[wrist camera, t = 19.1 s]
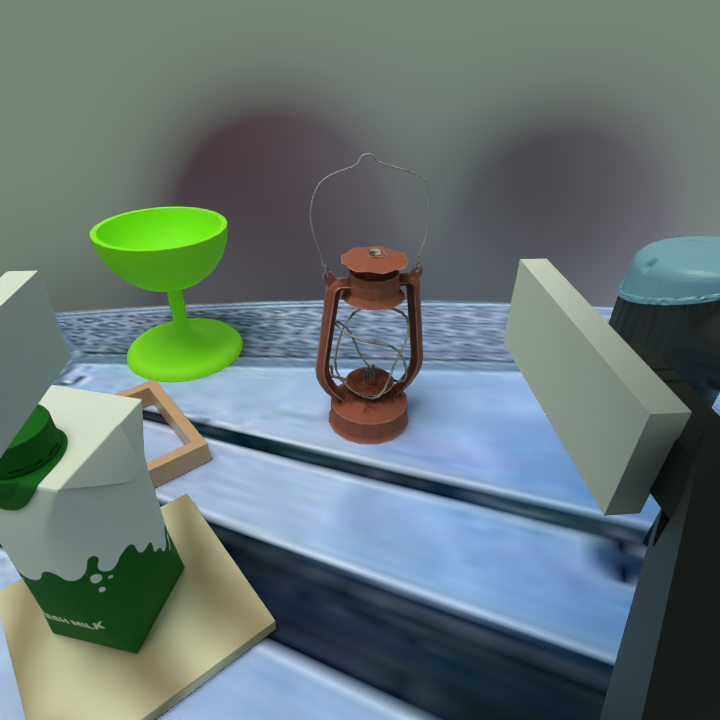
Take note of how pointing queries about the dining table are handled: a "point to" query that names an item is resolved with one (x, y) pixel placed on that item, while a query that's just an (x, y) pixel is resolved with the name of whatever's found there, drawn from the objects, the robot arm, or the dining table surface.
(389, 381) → the lantern
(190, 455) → the holder
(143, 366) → the wineglass
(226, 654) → the board
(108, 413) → the green white milk carton
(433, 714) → the dining table surface
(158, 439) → the dining table surface
